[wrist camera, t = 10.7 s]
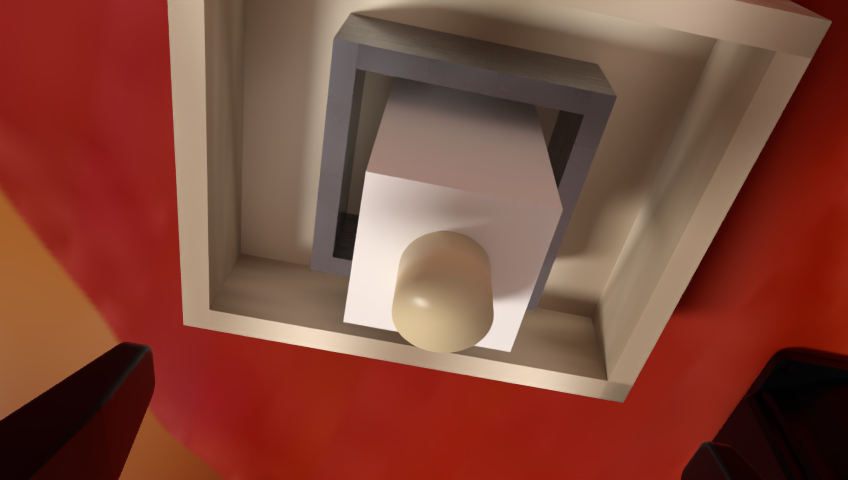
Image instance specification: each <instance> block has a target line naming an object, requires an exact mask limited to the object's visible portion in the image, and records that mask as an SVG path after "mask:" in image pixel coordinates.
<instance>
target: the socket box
mask: <svg viewBox="0 0 848 480" xmlns="http://www.w3.org/2000/svg"><path fill="white" fill-rule="evenodd" d="M168 19H169V39H170V59H171V79H172V100H173V120H174V140H175V160H176V180H177V201H178V221H179V241H180V261H181V282H182V302H183V322H184V325H187V326H193V327H199V328H204V329H210V330H215V331H221V332H227V333H232V334H238V335H244V336H249V337H255V338H261V339H266V340H272V341H278V342H283V343H289V344H295V345H300V346H306V347H312V348H317V349H323V350H329V351H334V352H340V353H346V354H351V355H357V356H363V357H368V358H374V359H380V360H385V361H391V362H397V363H402V364H408V365H414V366H419V367H425V368H431V369H436V370H442V371H447V372H453V373H459V374H464V375H470V376H476V377H481V378H487V379H493V380H498V381H504V382H510V383H515V384H521V385H527V386H532V387H538V388H544V389H549V390H555V391H561V392H566V393H572V394H578V395H583V396H589V397H595V398H600V399H606V400H612V401H617V402H624V400H625V398H626V397H627V395H628V393H629V391H630V389H631V387H632V386H633V384H634V382H635V380H636V378H637V377H638V375H639V373H640V371H641V369H642V367H643V366H644V364H645V362H646V360H647V358H648V356H649V355H650V353H651V351H652V349H653V347H654V346H655V344H656V342H657V340H658V338H659V336H660V335H661V333H662V331H663V329H664V327H665V325H666V324H667V322H668V320H669V318H670V316H671V315H672V313H673V311H674V309H675V307H676V305H677V304H678V302H679V300H680V298H681V296H682V294H683V293H684V291H685V289H686V287H687V285H688V284H689V282H690V280H691V278H692V276H693V274H694V273H695V271H696V269H697V267H698V265H699V264H700V262H701V260H702V258H703V256H704V254H705V253H706V251H707V249H708V247H709V245H710V243H711V242H712V240H713V238H714V236H715V234H716V233H717V231H718V229H719V227H720V225H721V223H722V222H723V220H724V218H725V216H726V214H727V212H728V211H729V209H730V207H731V205H732V203H733V202H734V200H735V198H736V196H737V194H738V192H739V191H740V189H741V187H742V185H743V183H744V181H745V180H746V178H747V176H748V174H749V172H750V171H751V169H752V167H753V165H754V163H755V161H756V160H757V158H758V156H759V154H760V152H761V150H762V149H763V147H764V145H765V143H766V141H767V140H768V138H769V136H770V134H771V132H772V130H773V129H774V127H775V125H776V123H777V121H778V120H779V118H780V116H781V114H782V112H783V110H784V109H785V107H786V105H787V103H788V101H789V99H790V98H791V96H792V94H793V92H794V90H795V89H796V87H797V85H798V83H799V81H800V79H801V78H802V76H803V74H804V72H805V70H806V68H807V67H808V65H809V63H810V61H811V59H812V58H813V56H814V54H815V52H816V50H817V48H818V47H819V45H820V43H821V41H822V39H823V37H824V36H825V34H826V32H827V30H828V28H829V27H830V25H831V23H832V21H831V20H829V19H827V18H825V17H823V16H820V15H818V14H816V13H814V12H812V11H810V10H808V9H806V8H804V7H802V6H800V5H798V4H796V3H794V2H792V1H790V0H168ZM394 77H400V78H405V79H410V80H415V81H419V82H424V83H429V84H434V85H439V86H444V87H449V88H454V89H459V90H464V91H469V92H474V93H479V94H484V95H489V96H494V97H498V98H503V99H508V100H513V101H518V102H523V103H528V104H533V105H535V106H536V110H537V114H538V117H539V121H540V125H541V129H542V133H543V136H544V140H545V144H546V148H547V151H548V155H549V159H550V163H551V167H552V170H553V174H554V178H555V182H556V186H557V189H558V193H559V197H560V201H561V204H562V208H563V211H562V214H561V216H560V219H559V222H558V224H557V227H556V230H555V233H554V235H553V238H552V241H551V243H550V246H549V249H548V251H547V254H546V257H545V260H544V262H543V265H542V268H541V270H540V273H539V276H538V279H537V281H536V284H535V287H534V289H533V292H532V295H531V297H530V300H529V303H528V306H527V308H526V311H525V314H524V316H523V319H522V322H521V324H520V327H519V330H518V333H517V335H516V338H515V341H514V343H513V346H512V349H511V352H507V351H502V350H496V349H490V348H485V347H479V346H472V347H470V348H467V349H465V350H461V351H458V352H451V353H438V352H431V351H427V350H424V349H421V348H419V347H416V346H414V345H413V344H411V343H409V342H408V341H407V340H405V339H404V338H403V337H402V336H401V335H400V333H399V332H396V331H391V330H385V329H380V328H374V327H368V326H363V325H357V324H352V323H346V322H343V321H344V314H345V307H346V301H347V294H348V287H349V280H350V274H351V267H352V260H353V254H354V247H355V240H356V234H357V227H358V220H359V214H360V207H361V200H362V193H363V187H364V180H365V173H366V169H367V166H368V163H369V159H370V156H371V153H372V149H373V146H374V143H375V140H376V136H377V133H378V130H379V126H380V123H381V120H382V117H383V113H384V110H385V107H386V104H387V100H388V97H389V94H390V90H391V87H392V84H393V81H394Z"/></svg>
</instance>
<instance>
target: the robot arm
mask: <svg viewBox="0 0 848 480" xmlns="http://www.w3.org/2000/svg"><path fill="white" fill-rule="evenodd" d="M785 365H786V366H785ZM783 366H784V367H783ZM154 387H155V375H154V364H153V354H152V350H151V348H150V347H149V346H147V345H143V344H137V343H131V342H123V343H120V344H118V345H117V346H115V347H114V348H112V349H111V350H109V351H107V352H106V353H104V354H103V355H101V356H100V357H98V358H97V359H95V360H94V361H92V362H90V363H89V364H87V365H86V366H84V367H83V368H81V369H80V370H78V371H76V372H75V373H73V374H72V375H70V376H69V377H67V378H66V379H64V380H63V381H61V382H60V383H58V384H56V385H55V386H53V387H52V388H50V389H49V390H47V391H46V392H44V393H42V394H41V395H39V396H38V397H36V398H35V399H33V400H31V401H30V402H28V403H27V404H25V405H24V406H22V407H21V408H19V409H18V410H16V411H14V412H13V413H11V414H10V415H8V416H7V417H5V418H4V419H2V420H0V480H118V479H119V477H120V475H121V472H122V470H123V467H124V465H125V462H126V460H127V458H128V455H129V453H130V450H131V448H132V445H133V443H134V440H135V438H136V435H137V433H138V430H139V428H140V425H141V423H142V420H143V418H144V415H145V413H146V410H147V408H148V405H149V403H150V401H151V398H152V395H153V392H154ZM681 480H848V363H843V362H837V361H832V360H827V359H821V358H816V357H810V356H805V355H799V354H794V353H780V354H777V355H775V356H773V357H772V358H771V359H770V361H769V362H768V363H767V365H766V366H765V368H764V369H763V371H762V372H761V373H760V375H759V376H758V378H757V379H756V380H755V382H754V383H753V385H752V386H751V387H750V389H749V390H748V392H747V393H746V395H745V396H744V397H743V399H742V400H741V402H740V403H739V404H738V406H737V407H736V409H735V410H734V411H733V413H732V414H731V416H730V417H729V418H728V420H727V421H726V423H725V424H724V426H723V427H722V428H721V430H720V431H719V433H718V434H717V435H716V437H715V438H714V440H713V441H712V442H710V441H708V442H704V443H702V444H701V445H700V447H699V448H698V449H697V451H696V452H695V454H694V455H693V457H692V458H691V459H690V461H689V462H688V464H687V465H686V467H685V468H684V470H683V472H682V476H681Z"/></svg>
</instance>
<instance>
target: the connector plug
mask: <svg viewBox="0 0 848 480" xmlns="http://www.w3.org/2000/svg"><path fill="white" fill-rule="evenodd" d="M562 211H563V208H562V204H561V201H560V197H559V193H558V189H557V186H556V182H555V178H554V174H553V170H552V167H551V163H550V159H549V155H548V151H547V148H546V144H545V140H544V136H543V133H542V129H541V125H540V121H539V117H538V114H537V110H536V106H535V105H533V104H528V103H523V102H518V101H513V100H508V99H503V98H498V97H494V96H489V95H484V94H479V93H474V92H469V91H464V90H459V89H454V88H449V87H444V86H439V85H434V84H429V83H424V82H419V81H415V80H410V79H405V78H400V77H394V81H393V84H392V87H391V90H390V94H389V97H388V100H387V104H386V107H385V110H384V113H383V117H382V120H381V123H380V126H379V130H378V133H377V136H376V140H375V143H374V146H373V149H372V153H371V156H370V159H369V163H368V166H367V169H366V173H365V180H364V187H363V193H362V200H361V207H360V214H359V220H358V227H357V234H356V240H355V247H354V254H353V260H352V267H351V274H350V280H349V287H348V294H347V301H346V307H345V314H344V321H343V322H346V323H352V324H357V325H363V326H368V327H374V328H380V329H385V330H391V331H396V332H399V333H400V335H401V336H402V337H403V338H404V339H405V340H407V341H408V342H409V343H411V344H413V345H414V346H416V347H419V348H421V349H424V350H427V351H431V352H438V353H451V352H458V351H461V350H465V349H467V348H470V347H472V346H479V347H485V348H490V349H496V350H502V351H507V352H511V349H512V346H513V343H514V341H515V338H516V335H517V333H518V330H519V327H520V324H521V322H522V319H523V316H524V314H525V311H526V308H527V306H528V303H529V300H530V297H531V295H532V292H533V289H534V287H535V284H536V281H537V279H538V276H539V273H540V270H541V268H542V265H543V262H544V260H545V257H546V254H547V251H548V249H549V246H550V243H551V241H552V238H553V235H554V233H555V230H556V227H557V224H558V222H559V219H560V216H561V214H562Z"/></svg>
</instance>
